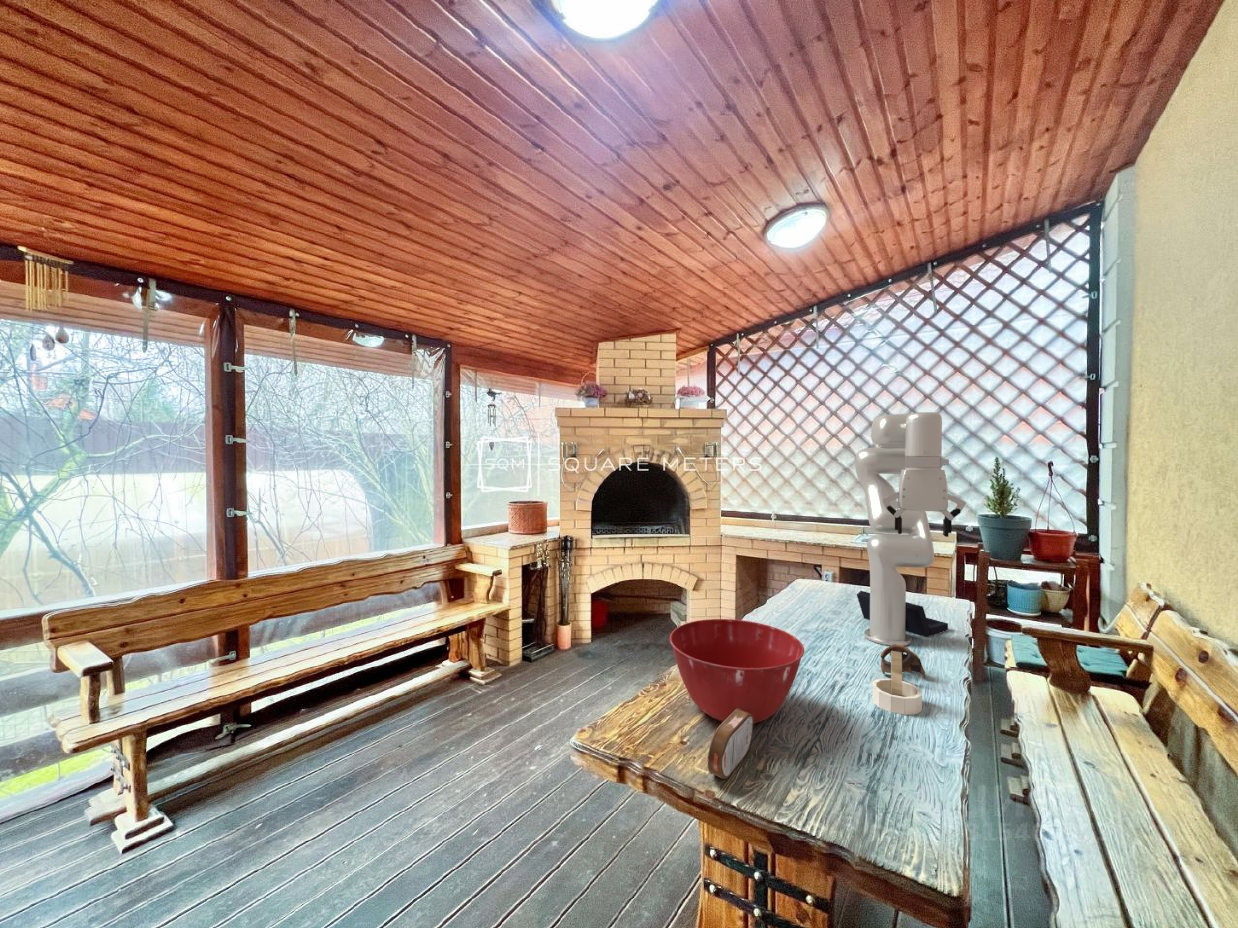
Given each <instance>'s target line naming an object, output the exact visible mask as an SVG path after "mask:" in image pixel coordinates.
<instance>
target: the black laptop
mask: <svg viewBox="0 0 1238 928" xmlns="http://www.w3.org/2000/svg"><path fill="white" fill-rule="evenodd" d="M856 597H857V601H858V604H859V607H860V610H861V613H862V617H863V619H864V620H868V621H870V592H869V591H863V590H860V591H859V592H858V593H857V594H856ZM946 630H948V631H949V623H947V622H945V621H940V620H936V619H934V618H930V617H926V612H925V608H924V606H922V605H918V604H915V603H910V602H907V601H906V619H905V632H908V633H912V634H914V635H918V636H921V637H924V638H928V636H929V635H930V636H929V637H932V636H935V635H937V634H938V635H939V634H941V633H944V632H947V631H946ZM943 631H944V632H943ZM940 632H941V633H940ZM934 634H935V635H934ZM931 635H932V636H931Z"/></svg>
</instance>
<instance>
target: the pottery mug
mask: <svg viewBox="0 0 1238 928" xmlns="http://www.w3.org/2000/svg"><path fill="white" fill-rule="evenodd" d="M891 651H897V652H902V673H906V672H908V673H910V674H912V673H913V672H916V673H919V674H920V675H921V676H922V678H923V680H926V672H925V671H926V670H925V669H924V667H923V665H922V661H921V658H920V657H919V656H918V655H917V654H916V653H915V652H914V651H911V649H910V648H909V647H908V646H902V645H896V644H895V645H892V646H888V647H887V648H885V649H884V650H883V651H882V652H881V654H880V658H881V660H880V669H881V672H882V674H883V675H885V674H886V673H889V674H891V661H887V660H886V659H885V658H886V657H887V656H888V655H889V656H891Z"/></svg>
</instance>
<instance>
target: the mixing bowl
mask: <svg viewBox="0 0 1238 928" xmlns="http://www.w3.org/2000/svg"><path fill="white" fill-rule="evenodd" d="M669 642H670V644H671V646H672V651H673V654H674V659H675V662H676V665H677V669H678V672H679V674H680V677H681V680H682V682H683V684H684V688H686V691H687V693H688V694H689V697H690V698H691V700H692V701H693V703H694V705H696V706H697V708H698V709H699V710H701V711H702V712H703V713H705V714H707V715H708V716H709V717H711V718H712V719H714V720H716V721H718V722H721V723H723V722H724V721H725V720H726V719H727V718H728V717H729V716H730V715H731V714H732V713H733V712H734V711H735V710H736V709H738V708H739V709H741V710H743V711H746V712H748V713H750V714H752V716H753V719H754V721H753V725H754V724H758V723H760V722H761V721H765V720H767V719H768V718H770V717H771V716H773V715H774V714H775V713H777V711H778V710H779V709H780V708H781V706H782V704H783V703H784V701H785V700H786V698H787V696H788V694H789V693H790V690H791V689H792V687H793V684H794V681H795V679H796V677H797V673H798V670H799V667H800V664H801V661H802V658H803V656H804V654H805V647H804V645H803V643H802V641H800V640H799V639H798V638H797V637H795V635H792V634H791V633H789V632H787V631H785V630H783V629H780V628H778V627H774V626H771V625H768V624H765V623H760V622H756V621H755V622H754V621H751V620H742V619H731V618H730V619H729V618H712V619H711V618H707V619H700V620H694V621H690V622H686V623H683V624H681V625H679V626H678V627H676V628H675V629H674V630H672V632H671V633H670V635H669Z"/></svg>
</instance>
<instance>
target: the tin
mask: <svg viewBox="0 0 1238 928" xmlns="http://www.w3.org/2000/svg"><path fill="white" fill-rule="evenodd" d="M753 721H754V719H753V716H752V714H750V713H748V712H746V711H743V710H741V709H739V708H738V709H736V710H735V711H734V712H733V713H732V714H731V715H730V716H729V717H728V718H727V719H726V720H725V721H724V722H721V724H719V726H718V727H717V728H716V731H715V732H714V734H713V736H712V738H711V741H710V745H709V748H708V749H709V750H708V754H707V771H708V773H709V774H710V775H714V776H716V777H719V778H720V779H724V780H726V779H728V778H729V777H730V776H731V775H732V773H733V772H734V771H735V770H736V769H737V767H739V765H740V764H741V763H742V761H743V760H744V759H745V758H746V756H747V755H748V753H749V750H750V747H751V745H752V741H753V731H754V724H753Z"/></svg>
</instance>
